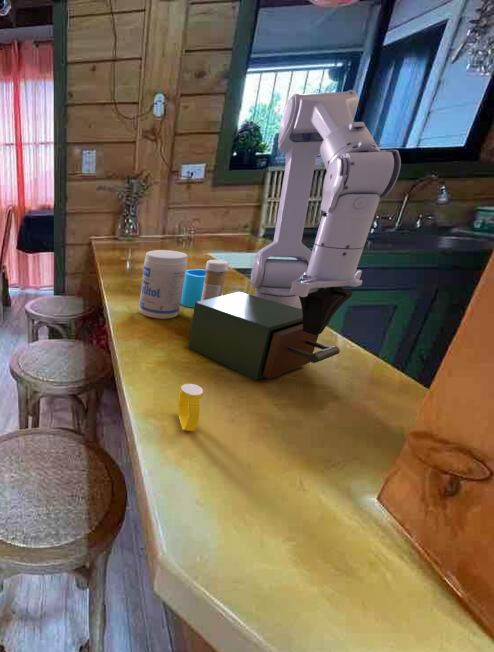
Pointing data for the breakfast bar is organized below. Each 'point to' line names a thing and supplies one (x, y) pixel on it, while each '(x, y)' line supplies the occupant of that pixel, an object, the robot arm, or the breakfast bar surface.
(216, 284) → the sprinkles bottle
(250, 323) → the cabinet
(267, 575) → the breakfast bar surface
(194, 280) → the mug
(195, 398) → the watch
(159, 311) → the supplement tub
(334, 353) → the drawer
